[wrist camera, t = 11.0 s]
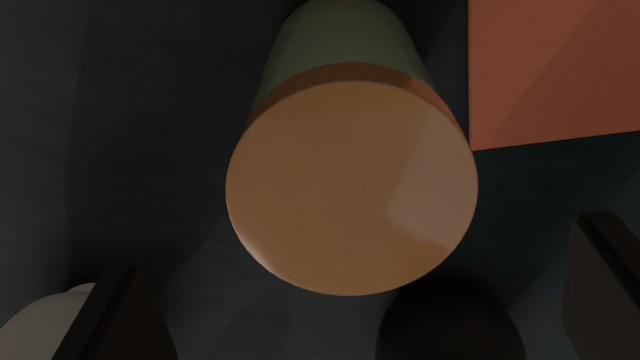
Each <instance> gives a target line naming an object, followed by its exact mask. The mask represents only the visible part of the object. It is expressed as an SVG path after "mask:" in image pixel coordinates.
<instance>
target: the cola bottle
mask: <svg viewBox="0 0 640 360" xmlns="http://www.w3.org/2000/svg"><path fill="white" fill-rule="evenodd" d="M375 360H526V353H525V349H524V345H523V342H522V339H521V336H520V334H519V332H518V330H517V328H516V326H515V324H514V323H513V321H512V320H511V318H510V317H509V315H508V314H507V313H506V312H505V310H504V309H503V308H502V307H501V306H500V305H499V303H498V302H497V301H496V300H494V299H493V298H492V297H491V296H490V295H488V294H487V293H486V292H484V291H482V290H481V289H479V288H477V287H475V286H472V285H469V284H466V283H462V282H456V281H437V282H430V283H426V284H423V285H420V286H417V287H415V288H412V289H410V290H409V291H407V292H405V293H404V294H402V295H401V296H400V297H398V298H397V299H396V300H395V301H394V302H393V303H392V304H391V306H390V307H389V308H388V310H387V311H386V313H385V315H384V317H383V319H382V322H381V324H380V328H379V331H378V336H377V342H376V352H375Z"/></svg>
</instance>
